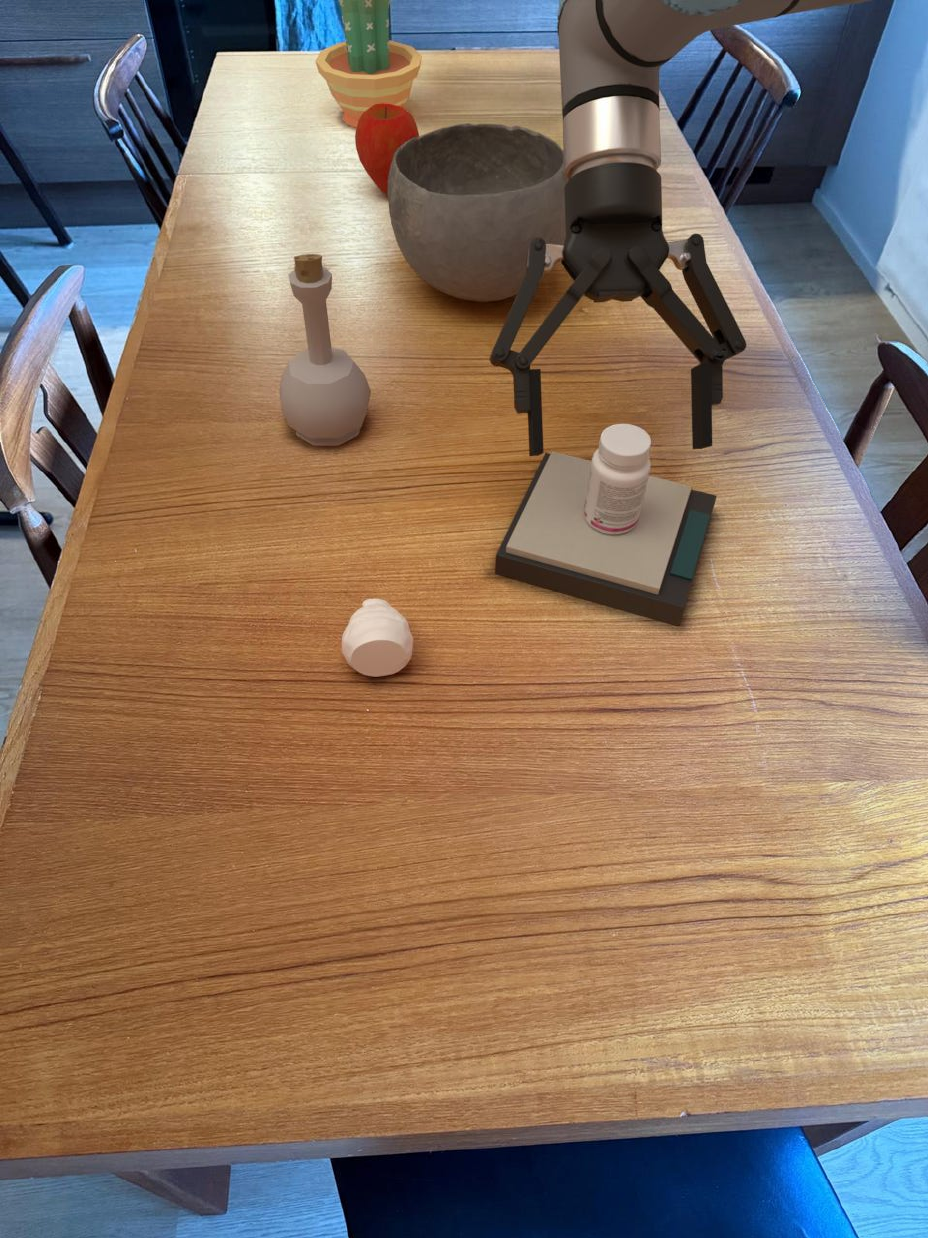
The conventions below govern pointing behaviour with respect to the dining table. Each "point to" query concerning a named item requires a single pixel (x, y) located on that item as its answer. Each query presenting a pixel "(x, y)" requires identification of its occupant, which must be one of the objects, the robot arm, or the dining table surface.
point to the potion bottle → (321, 368)
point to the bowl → (476, 206)
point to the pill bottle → (618, 479)
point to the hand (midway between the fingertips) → (619, 451)
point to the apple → (382, 139)
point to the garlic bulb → (377, 639)
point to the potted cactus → (367, 61)
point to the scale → (607, 542)
